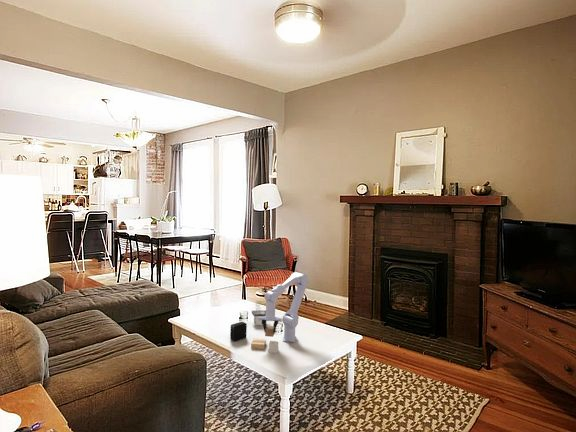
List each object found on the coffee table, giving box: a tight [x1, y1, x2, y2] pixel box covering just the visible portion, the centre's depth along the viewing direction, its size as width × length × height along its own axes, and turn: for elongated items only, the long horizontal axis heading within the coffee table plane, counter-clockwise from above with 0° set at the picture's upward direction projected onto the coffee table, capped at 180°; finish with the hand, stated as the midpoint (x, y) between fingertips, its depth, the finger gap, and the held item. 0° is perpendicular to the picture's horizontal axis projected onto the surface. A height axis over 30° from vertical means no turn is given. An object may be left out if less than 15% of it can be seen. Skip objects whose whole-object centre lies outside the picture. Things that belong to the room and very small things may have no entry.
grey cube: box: [268, 340, 279, 354], centre depth 220 cm, size 5×5×5 cm
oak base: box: [250, 338, 267, 350], centre depth 226 cm, size 8×8×3 cm
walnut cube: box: [264, 324, 275, 337], centre depth 227 cm, size 5×5×5 cm
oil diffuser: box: [251, 301, 266, 326], centre depth 266 cm, size 26×24×17 cm
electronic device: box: [229, 321, 248, 342], centre depth 236 cm, size 4×10×10 cm, turn 135°
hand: (269, 332), depth 227 cm, fingers closed on walnut cube, 5 cm apart
